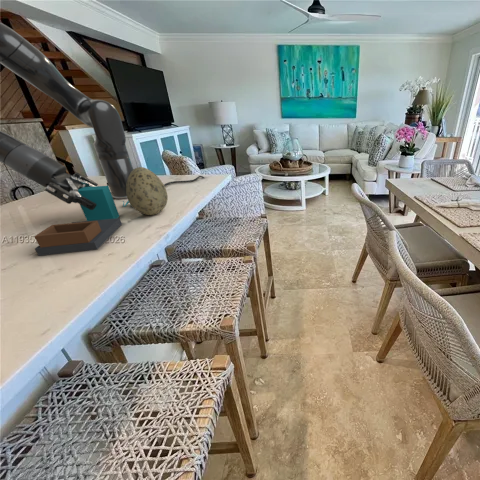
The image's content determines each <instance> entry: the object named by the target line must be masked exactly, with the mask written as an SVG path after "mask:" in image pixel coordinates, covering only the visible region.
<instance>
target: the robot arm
mask: <svg viewBox="0 0 480 480" xmlns="http://www.w3.org/2000/svg"><path fill="white" fill-rule="evenodd" d="M0 64H1V65H2V66H3V67H5V68H6V69H8V70H9V71H11V72H12V73H14V74H15V75H17V76H18V77H20V78H22V80H24V81H26V82H27V83H28V84H30V85H32V86H33V87H34V88H36V89H37V90H39V91H40V92H42V93H43V94H45V95H46V96H48V97H50V98H51V99H52V100H54V101H56V102H57V103H58V104H59V105H60V106H62V107H63V108H64V109H65V110H66V111H68V112H69V113H70V114H72V115H73V116H74V117H75V118H77V120H79V122H82V124H84V125H86V126H87V127H89V128H91V129H93V132H94V136H95V140H94V141H93V143H92V144H93V148H94V150H95V153H96V156H97V158H98V160H99V164H100V167H101V169H102V171H103V174H104V177H105V179H106V186H109V189H110V192H111V194H112V197H113V199H115V200H116V199H117V200H118V199H119V200H123V199H128V198H127V195H126V183H127V179H128V177H129V175H130V173H131V172H132V171H133V170H134V169H135V168H134V167H133V164H132V161H131V158H130V154H129V151H128V149H127V144H126V142H127V138H126V133H125V129H124V126H123V122H122V119H121V116H120V113H119V112H118V110H117V109H116V107H115V106H114V105H113V104H112V103H110V102H109V101H106V100H103V99H92V98H90V97H89V96H87V95H86V94H85V93H83V92H81V91H80V90H79V89H78V88H76V87H75V86H74V85H72V84H71V83H70V82H69V80H67V79H66V78H65V76H63V74H62V73H61V72H60V71H59V70H58V69H57V67H56V66H55V65H54V64H53V62H52V61H51V60H50V59H49V58H48V57H47V56H46V55H45V54H44V53H43V52H42V51H40V50H39V49H38V48H37V47H35V46H34V45H33V44H32V43H30V42H29V41H28V40H27V39H26V38H24V37H23V36H22V35H21V34H19V33H18V32H16V31H15V30H14V29H12V28H11V27H9V26H8V25H6V24H4V23H2V22H0ZM0 163H2V164H4V165H5V166H6V167H9V168H10V169H11V170H13V171H15V172H16V173H18V174H20V175H22V176H23V177H25V178H27V179H29V180H31V181H33V182H34V183H36V184H38V185H40V186H42V187H44V191H45V192H47V193H49V194H51V195H52V196H53V197H56V198H57V199H59V200H61V201H63V202H64V203H66V204H67V205H71V204H72V203H73V204H78V205H79V206H80V205H82V206H84V207H86V208H88V209H90V210H93V209H94V208H95V207H96V206H97V204H96V203H94V202H92V201H90V200H89V199H87V198H85V197H82V196H81V195H80V193H79V192H78V189H80V188H82V187H95V186H99V183H98V182H95V181H94V180H92V179H90V178H88V177H87V176H85V175H83V174H81V173H80V172H75V173H74V174H71V173H68V172H67V167H66V166H65V165H63V164H62V163H60V162H58V161H56V160H55V159H53V158H51V157H50V156H48V155H46V154H45V153H43V152H41V151H40V150H38V149H37V148H34V147H32V146H30V145H28V144H26V143H24V142H23V141H21V140H19V139H18V138H16V137H15V136H13V135H11V134H9V133H7V132H5V131H2V130H0ZM200 178H201V179H205V176H203V175H198V176H197V177H195V178H194V179H189V180H173V181H169V182H166V183H163V184H164V186H165V187H166V186H168V185H171V184H179V183H192V182H196V181H198V180H199V179H200Z"/></svg>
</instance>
